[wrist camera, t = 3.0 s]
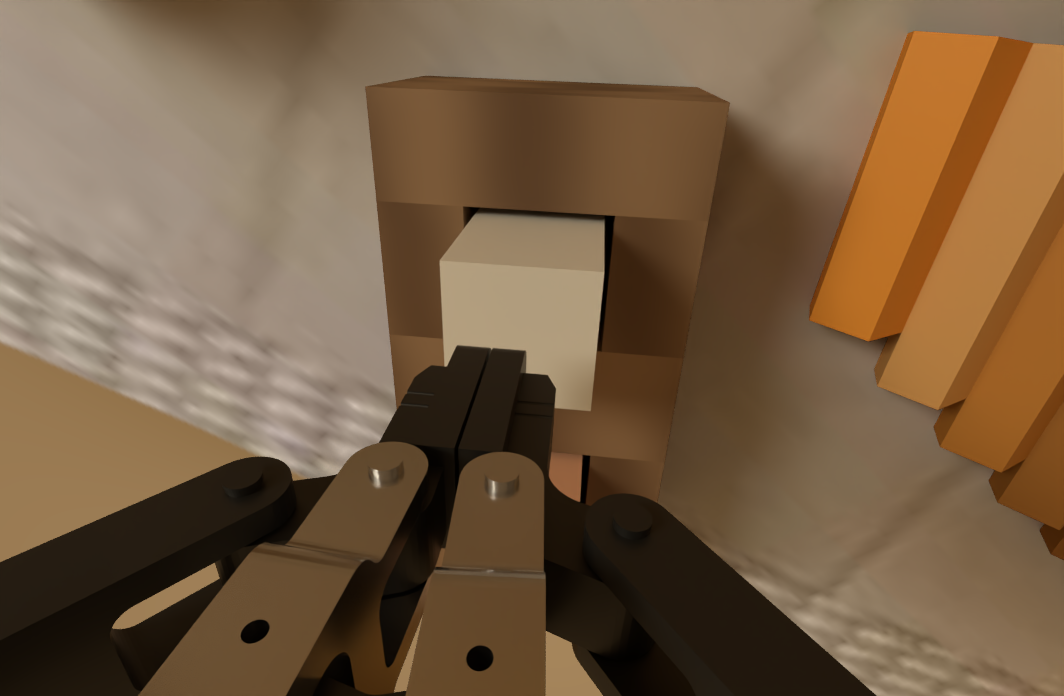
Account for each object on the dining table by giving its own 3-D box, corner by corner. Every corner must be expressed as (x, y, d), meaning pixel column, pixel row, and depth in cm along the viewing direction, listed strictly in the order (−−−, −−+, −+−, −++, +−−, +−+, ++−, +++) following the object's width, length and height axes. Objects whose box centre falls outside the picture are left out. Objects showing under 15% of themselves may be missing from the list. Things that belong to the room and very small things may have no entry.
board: (697, 87, 20) (729, 102, 15) (632, 505, 30) (638, 603, 25) (424, 75, 21) (365, 86, 16) (445, 486, 31) (413, 577, 25)
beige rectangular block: (604, 212, 18) (604, 272, 14) (594, 323, 20) (590, 411, 15) (482, 204, 19) (439, 260, 14) (483, 315, 21) (446, 398, 16)
